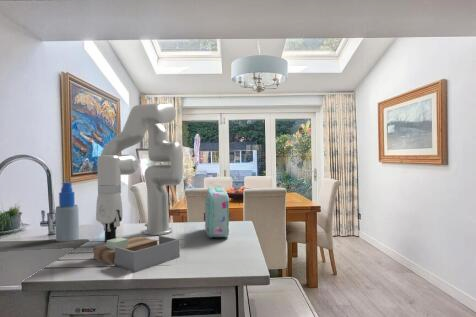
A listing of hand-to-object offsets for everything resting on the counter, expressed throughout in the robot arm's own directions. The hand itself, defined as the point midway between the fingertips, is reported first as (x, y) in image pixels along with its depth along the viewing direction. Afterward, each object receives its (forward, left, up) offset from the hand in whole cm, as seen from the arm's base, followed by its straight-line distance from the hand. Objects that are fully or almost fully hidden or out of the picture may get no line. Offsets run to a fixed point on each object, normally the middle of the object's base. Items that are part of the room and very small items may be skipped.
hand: (110, 241), depth 109 cm
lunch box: (+8, +47, -6) cm, 48 cm away
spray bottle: (-42, +4, -6) cm, 42 cm away
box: (+15, +5, -5) cm, 17 cm away
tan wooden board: (+2, +5, -5) cm, 7 cm away
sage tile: (+4, 0, -1) cm, 4 cm away
